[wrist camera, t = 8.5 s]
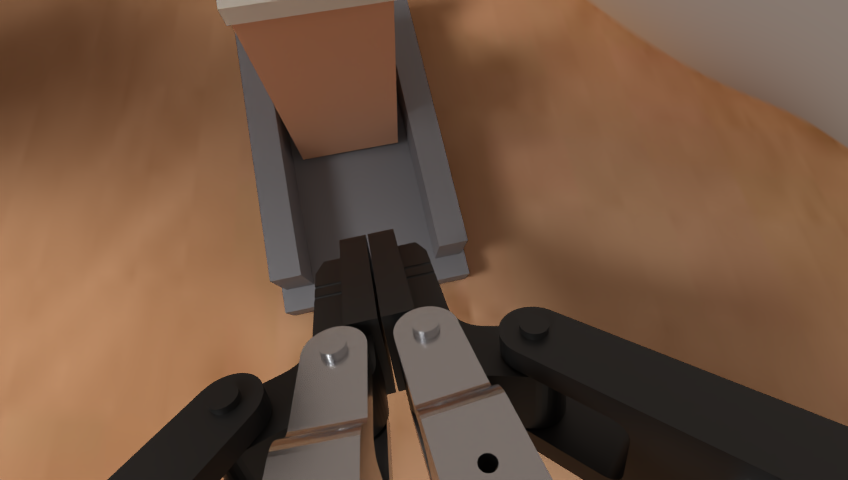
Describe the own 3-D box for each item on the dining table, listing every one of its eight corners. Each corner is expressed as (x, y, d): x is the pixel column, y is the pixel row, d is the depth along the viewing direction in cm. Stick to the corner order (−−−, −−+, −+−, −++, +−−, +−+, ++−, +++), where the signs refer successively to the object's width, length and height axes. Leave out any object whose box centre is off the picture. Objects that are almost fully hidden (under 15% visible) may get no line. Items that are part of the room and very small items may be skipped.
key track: (464, 278, 21) (485, 255, 16) (294, 315, 21) (255, 304, 15) (398, 9, 25) (397, -83, 20) (251, 31, 24) (207, -58, 19)
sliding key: (400, 144, 21) (397, -18, 12) (301, 162, 21) (217, 9, 11) (379, 53, 22) (362, -159, 13) (285, 68, 22) (197, -141, 12)
